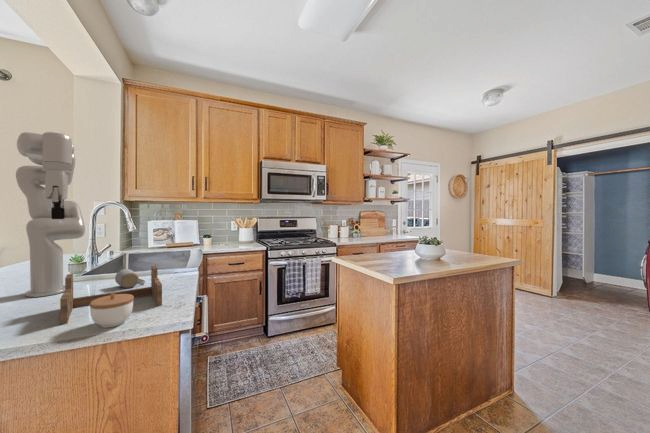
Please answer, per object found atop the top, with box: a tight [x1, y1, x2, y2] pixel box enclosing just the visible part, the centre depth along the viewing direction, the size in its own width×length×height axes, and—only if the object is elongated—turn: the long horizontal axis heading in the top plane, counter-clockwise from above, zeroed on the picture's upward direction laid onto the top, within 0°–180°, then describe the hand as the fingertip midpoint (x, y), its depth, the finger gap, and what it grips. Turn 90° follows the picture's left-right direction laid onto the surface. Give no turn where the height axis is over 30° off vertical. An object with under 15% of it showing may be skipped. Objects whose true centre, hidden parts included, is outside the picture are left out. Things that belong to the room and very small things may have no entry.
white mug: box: [114, 268, 146, 289], centre depth 122 cm, size 11×8×8 cm
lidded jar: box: [89, 294, 135, 328], centre depth 83 cm, size 11×11×9 cm
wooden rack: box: [59, 265, 163, 325], centre depth 97 cm, size 18×27×12 cm, turn 130°
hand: (58, 218), depth 95 cm, fingers closed
